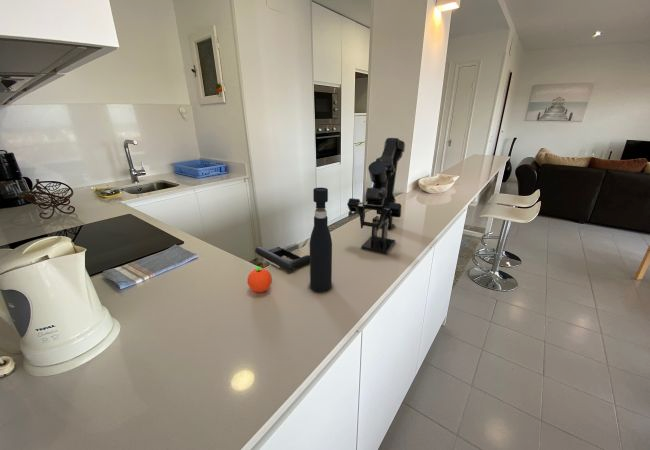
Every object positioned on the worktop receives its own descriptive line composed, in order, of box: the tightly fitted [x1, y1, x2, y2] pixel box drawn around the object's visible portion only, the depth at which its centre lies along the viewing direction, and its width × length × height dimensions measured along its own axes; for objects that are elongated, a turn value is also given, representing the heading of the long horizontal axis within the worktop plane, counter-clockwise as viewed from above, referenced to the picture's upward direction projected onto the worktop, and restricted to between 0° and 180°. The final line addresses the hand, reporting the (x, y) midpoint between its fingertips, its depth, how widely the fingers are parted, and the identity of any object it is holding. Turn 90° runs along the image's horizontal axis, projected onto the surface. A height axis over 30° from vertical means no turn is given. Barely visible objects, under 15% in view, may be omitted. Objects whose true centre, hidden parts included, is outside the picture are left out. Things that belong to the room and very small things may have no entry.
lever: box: [363, 219, 382, 228], centre depth 102 cm, size 14×5×2 cm, turn 151°
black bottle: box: [309, 187, 333, 293], centre depth 78 cm, size 6×6×30 cm
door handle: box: [254, 243, 310, 273], centre depth 100 cm, size 3×20×16 cm
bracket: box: [360, 215, 396, 255], centre depth 108 cm, size 12×10×12 cm
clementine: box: [247, 266, 273, 293], centre depth 81 cm, size 8×7×7 cm
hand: (369, 229), depth 95 cm, fingers closed on lever, 5 cm apart
